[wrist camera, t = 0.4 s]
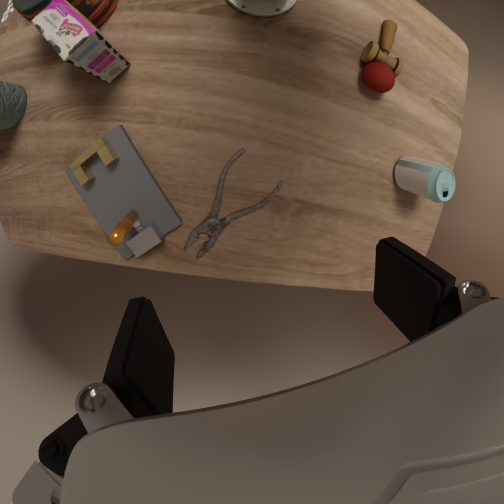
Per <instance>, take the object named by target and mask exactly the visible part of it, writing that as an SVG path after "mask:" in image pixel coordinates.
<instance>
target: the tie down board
mask: <svg viewBox="0 0 504 504" xmlns="http://www.w3.org/2000/svg"><path fill="white" fill-rule="evenodd" d="M103 138H108V139H109V141H110V143H111V144H112V146H113V148H114V149H115V151H116V153H117V154H118V156H119V159H117V160H116V161H115V162H114V163H112V164H110V165H107V166H105V165H104V163H103V161H102V160H101V158H100V156H99V155H98V154H97V155H96V156H95V157H94V158H93V159H91V160H90V161H89V162H88V165H89V167H90V168H91V170H92V172H93V173H94V175H95V176H96V177H95V178H94V179H92V180H91V181H90V182H89V183H87V184H85V185H83V186H81V185H80V183H79V181H78V180H77V178H76V176H75V175H74V173H73V171H72V170H71V168H70V166H69V167H68V168H67V169H66V170H65V171H66V173H67V175H68V177H69V178H70V180H71V181H72V183H73V185H74V186H75V188H76V190H77V191H78V193H79V194H80V196H81V198H82V199H83V201H84V202H85V204H86V205H87V207H88V208H89V210H90V211H91V213H92V214H93V216H94V217H95V219H96V220H97V222H98V223H99V224H100V226H101V227H102V229H103V230H104V232H105V233H106V234H107V236H108V235H109V233H110V232H111V231H112V230H113V229H114V228H115V226H116V225H117V224H118V223H119V222H120V221H121V220H122V219H123V217H124V216H125V215H126V214H127V213H128V212H129V211H130V210H135V211H136V212H137V213H138V215H139V218H138V219H139V220H140V222H141V225H142V224H143V226H144V227H145V228H146V226H147V225H148V223H150V222H151V221H153V220H154V221H155V223H156V224H157V225H158V227H159V228H160V230H161V231H162V233H163V234H164V235H165V234H166V233H168V232H169V231H171V230H172V229H174V228H176V227H177V226H179V225H180V224H182V220H181V218H180V217H179V215H178V214H177V212H176V211H175V209H174V207H173V206H172V204H171V203H170V201H169V200H168V198H167V197H166V195H165V194H164V192H163V191H162V189H161V187H160V186H159V184H158V183H157V181H156V180H155V178H154V176H153V175H152V173H151V172H150V170H149V169H148V167H147V165H146V164H145V162H144V161H143V159H142V157H141V156H140V154H139V152H138V151H137V149H136V148H135V146H134V144H133V143H132V141H131V139H130V138H129V136H128V134H127V133H126V131H125V129H124V128H123V126H122V125H119V126H117V127H116V128H115V129H113V130H112V131H111V132H109V133H108V134H107V135H106V136H104V137H103ZM138 227H139V226H138ZM138 227H137V228H138ZM137 228H135V227H134V226H133V227H132V228H131V230H130V231H129V232H128V234H127V235H126V237H125V238H124V240H123V241H122V243H121V244H120V245H119V246H115V247H116V248H117V249H118V251H119V252H120V253H121V255H122V256H123V257H124V259H125V260H127V259H128V258H130V257H131V256H133V255H134V253H133V252H132V251H131V249H130V248H129V247H128V245H127V244H126V242H127V240H128V239H129V237H130V236H131V235H132V234H134V233H135V232H136V233H138V231H137V230H136V229H137Z"/></svg>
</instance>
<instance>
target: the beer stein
mask: <svg viewBox="0 0 504 504" xmlns="http://www.w3.org/2000/svg"><path fill="white" fill-rule="evenodd" d="M51 1H52V0H13V6H14V8H15V9H17V11H18V13H19V14H21V15H22V16H23V17H24V18H26V19H27V20H28V21H29V22H31V23H32V20H33V19H34V18H35V17H36V16H37V14H38V13H40V12H41V11H42V10H43V9H44V8H45V7H46V6H47V5H48V4H49V3H50V2H51ZM66 1H68V2H69V3H70V4H71V5H72V6H73V7H75V8H76V9H77V10H78V11H79V12H80V13H81V14H83V15H84V16H85V17H86V18H87V19H88V20H89V21H90V22H91V23H92V24H93V25H94V26H95V27H96V28H97V27H99V26H100V25H102V24H103V22H105V21H106V20H107V19H108V17H109V16H110V15H111V13H112V12H113V11H114V9H115V8H116V4H117V0H66Z"/></svg>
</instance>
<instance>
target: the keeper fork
mask: <svg viewBox="0 0 504 504" xmlns="http://www.w3.org/2000/svg"><path fill="white" fill-rule="evenodd" d="M97 154H98V155H99V156H100V158H101V160H102V161H103V163H104V165H105V166H107V165H110V164H112V163H114V162H115V161H116V160H117V159H119V156H118V154H117V153H116V151H115V149H114V148H113V146H112V144H111V143H110V141H109V139H108V138H100V139H99V140H98V141H96V142H95V143H94V144H93V145H92V146H90V147H89V148H88V149H87V150H86V151H85V152H83V153H82V154H81V155H80V156H79V157H78V158H77V159H75V160H74V161H73V162H72V163H71V164H70V165H69V166H70V168H71V170H72V171H73V173H74V175H75V176H76V178H77V180H78V181H79V183H80V185H81V186H83V185H85V184H87V183H89V182H90V181H91V180H92V179H94V178H95V177H96V176H95V175H94V173H93V172H92V170H91V168H90V167H89V165H88V162H89V161H90V160H91V159H93V158H94V157H95V156H96V155H97Z"/></svg>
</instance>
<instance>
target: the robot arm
mask: <svg viewBox="0 0 504 504" xmlns="http://www.w3.org/2000/svg"><path fill="white" fill-rule="evenodd" d="M227 1H228V3H230V4H231V5H232V6H233V7H234V8H236V9H237V10H239V11H241V12H243V13H246V14H249V15H253V16H259V17H271V16H277V15H281V14H283V13H285V12H287V11H288V10H290V9H291V8H292V7H293V5H294V4H295V3H296V1H297V0H227ZM242 7H243V8H242ZM455 281H456V277H454V276H453V275H451V274H450V273H448V272H447V271H446V270H444V269H442V268H441V267H440V266H438V265H437V264H435V263H434V262H432V261H431V260H429V259H428V258H426V257H424V256H423V255H421V254H420V253H418V252H417V251H415V250H414V249H412V248H410V247H409V246H407V245H406V244H404V243H402V242H401V241H399V240H397V239H396V238H394V237H388V238H384V239H381V240H380V241H379V243H378V244H377V246H376V263H375V281H374V294H373V299H374V302H375V304H376V305H377V306H378V307H379V308H380V309H381V310H382V311H383V312H384V314H385V315H386V316H387V317H388V318H389V319H390V320H391V321H392V322H393V323H394V324H395V325H396V326H397V327H398V328H399V330H400V331H401V332H402V333H403V334H404V335H405V336H406V337H407V338H408V339H409V341H410V342H409V343H407V344H405V345H403V346H401V347H399V348H397V349H395V350H393V351H390V352H388V353H386V354H383V355H381V356H379V357H376V358H374V359H372V360H369V361H367V362H365V363H362V364H359V365H357V366H354V367H352V368H349V369H347V370H344V371H341V372H338V373H336V374H333V375H330V376H327V377H324V378H321V379H319V380H315V381H312V382H309V383H306V384H303V385H300V386H296V387H293V388H290V389H286V390H283V391H279V392H275V393H271V394H267V395H263V396H260V397H255V398H251V399H247V400H242V401H238V402H233V403H228V404H223V405H218V406H213V407H207V408H201V409H195V410H189V411H182V412H175V413H173V380H174V361H175V356H174V351H173V349H172V347H171V344H170V342H169V340H168V338H167V336H166V334H165V332H164V329H163V327H162V325H161V323H160V321H159V318H158V316H157V314H156V311H155V309H154V307H153V304H152V302H151V300H150V299H147V300H146V298H145V297H139V298H134V299H130V300H129V303H128V306H127V308H126V311H125V314H124V316H123V319H122V322H121V325H120V328H119V331H118V334H117V337H116V339H115V342H114V345H113V348H112V352H111V354H110V358H109V361H108V364H107V367H106V371H105V374H104V378H103V381H102V383H101V382H96V383H92V384H90V385H87V386H86V387H84V388H83V389H82V390H81V391H80V392H79V394H78V395H77V397H76V400H75V408H76V411H77V414H76V415H74V416H73V417H72V418H70V419H69V420H68V421H67V422H65V423H64V424H63V425H62V426H60V427H59V428H58V429H56V430H55V431H54V432H52V433H51V434H50V435H49V436H47V437H46V438H45V439H44V440H43V441H42V443H41V445H40V447H39V459H40V462H39V463H38V462H36V461H35V462H34V463H33V465H32V466H31V467H30V469H29V470H28V471H27V473H26V474H25V476H24V477H23V478H22V480H21V481H20V483H19V484H18V486H17V487H16V489H15V490H14V492H13V498H12V500H13V504H504V298H495V297H491V296H490V293H489V290H488V289H487V287H486V286H485V285H484V284H482V283H480V282H478V281H476V280H463V281H462V282H460V283H459V284H458V287H455V286H454V285H455Z"/></svg>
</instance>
